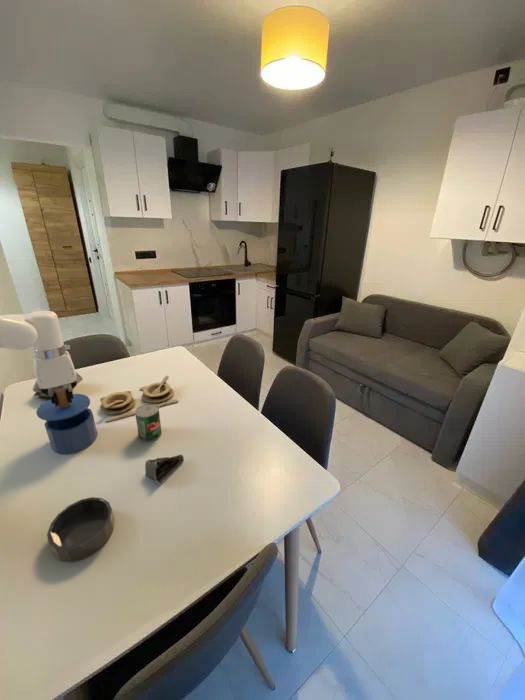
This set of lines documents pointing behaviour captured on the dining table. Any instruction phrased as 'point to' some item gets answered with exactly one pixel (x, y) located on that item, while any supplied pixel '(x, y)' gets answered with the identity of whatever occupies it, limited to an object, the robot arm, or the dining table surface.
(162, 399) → the tableware set
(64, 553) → the bowl
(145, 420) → the canned tomato
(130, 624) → the dining table surface
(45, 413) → the pot lid
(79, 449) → the pot
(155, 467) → the chocolate cake
